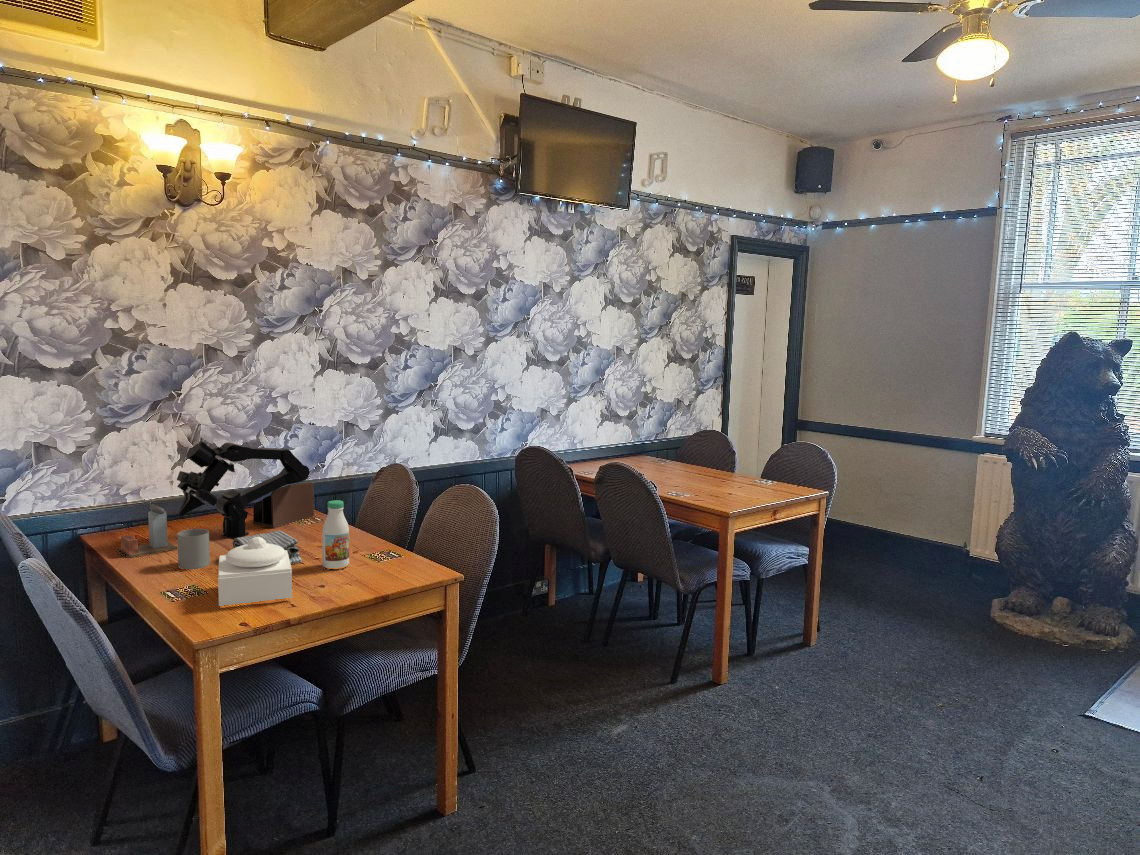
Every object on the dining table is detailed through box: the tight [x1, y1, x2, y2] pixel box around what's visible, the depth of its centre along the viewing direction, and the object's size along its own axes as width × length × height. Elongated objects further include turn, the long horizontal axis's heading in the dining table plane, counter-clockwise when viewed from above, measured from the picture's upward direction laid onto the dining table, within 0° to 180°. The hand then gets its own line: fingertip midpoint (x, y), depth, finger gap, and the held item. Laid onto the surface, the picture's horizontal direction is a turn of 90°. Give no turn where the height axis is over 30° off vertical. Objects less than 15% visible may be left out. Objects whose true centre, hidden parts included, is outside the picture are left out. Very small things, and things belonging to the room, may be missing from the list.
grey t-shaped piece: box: [147, 503, 169, 548], centre depth 243 cm, size 4×8×13 cm, turn 46°
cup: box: [176, 528, 211, 570], centre depth 228 cm, size 8×8×10 cm
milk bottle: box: [321, 499, 350, 568], centre depth 231 cm, size 8×8×20 cm
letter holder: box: [252, 482, 315, 529], centre depth 281 cm, size 10×20×14 cm, turn 154°
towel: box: [232, 530, 303, 564], centre depth 235 cm, size 15×18×8 cm
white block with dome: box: [217, 537, 293, 607], centre depth 207 cm, size 18×18×16 cm
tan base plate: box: [120, 534, 178, 558], centre depth 241 cm, size 14×9×5 cm, turn 137°
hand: (179, 515), depth 247 cm, fingers closed
